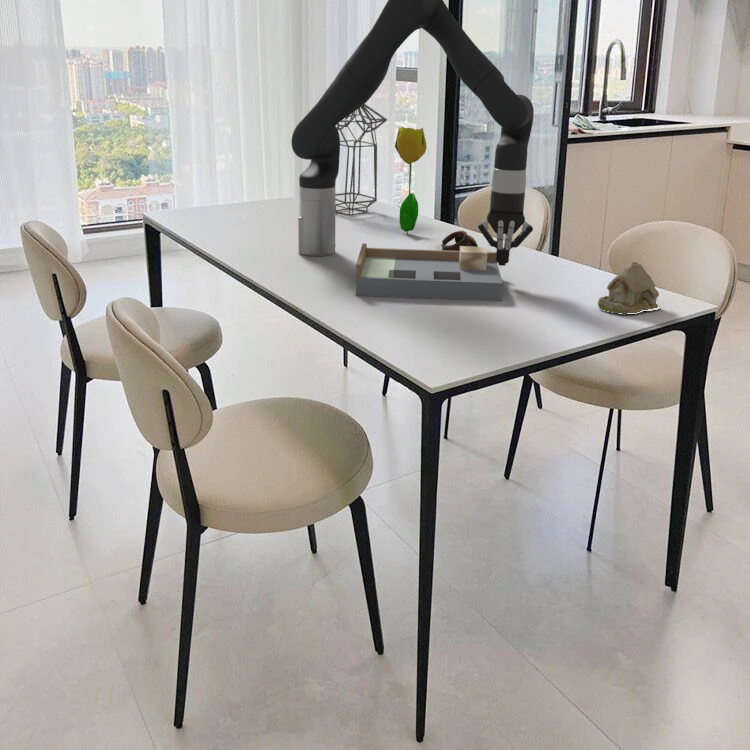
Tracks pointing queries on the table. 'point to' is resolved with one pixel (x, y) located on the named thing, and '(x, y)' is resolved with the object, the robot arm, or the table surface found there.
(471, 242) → the brown curved piece
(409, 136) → the flower
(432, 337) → the table surface
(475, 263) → the maple block
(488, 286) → the board
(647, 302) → the ceramic model
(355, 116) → the geometric lantern
